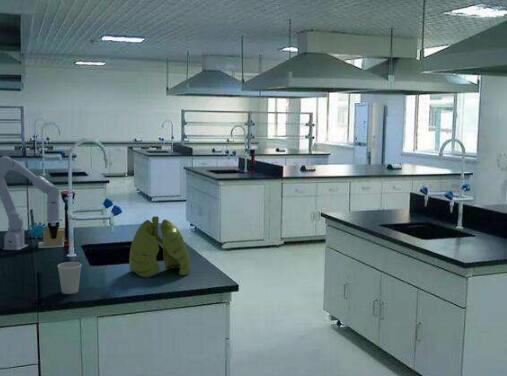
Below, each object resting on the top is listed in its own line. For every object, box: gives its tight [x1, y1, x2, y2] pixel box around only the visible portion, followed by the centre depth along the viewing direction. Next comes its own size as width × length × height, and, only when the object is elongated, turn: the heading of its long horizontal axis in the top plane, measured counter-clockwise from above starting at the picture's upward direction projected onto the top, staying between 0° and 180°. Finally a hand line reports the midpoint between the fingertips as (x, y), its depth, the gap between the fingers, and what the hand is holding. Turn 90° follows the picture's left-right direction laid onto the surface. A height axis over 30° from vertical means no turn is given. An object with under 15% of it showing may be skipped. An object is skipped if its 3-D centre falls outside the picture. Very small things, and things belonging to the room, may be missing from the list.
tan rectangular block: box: [42, 228, 66, 243], centre depth 273 cm, size 10×4×6 cm, turn 110°
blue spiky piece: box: [27, 221, 49, 240], centre depth 292 cm, size 11×6×10 cm
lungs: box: [128, 215, 191, 278], centre depth 228 cm, size 25×16×24 cm, turn 104°
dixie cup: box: [57, 261, 82, 295], centre depth 202 cm, size 8×8×10 cm
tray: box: [37, 238, 65, 249], centre depth 274 cm, size 14×10×4 cm
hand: (53, 237), depth 273 cm, fingers closed on tan rectangular block, 4 cm apart
